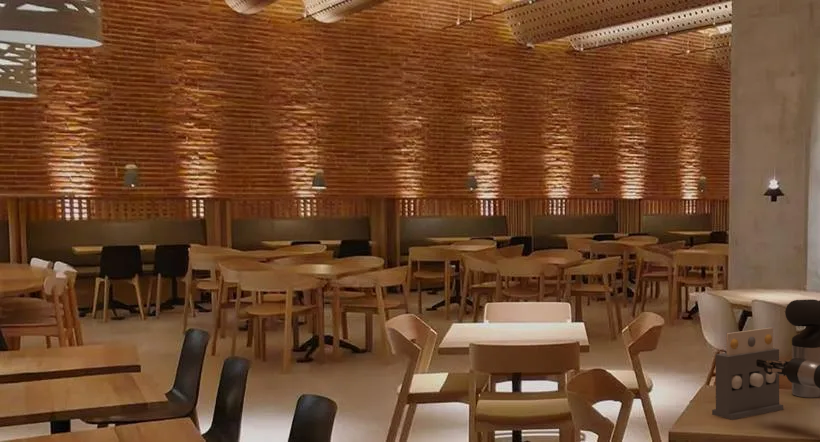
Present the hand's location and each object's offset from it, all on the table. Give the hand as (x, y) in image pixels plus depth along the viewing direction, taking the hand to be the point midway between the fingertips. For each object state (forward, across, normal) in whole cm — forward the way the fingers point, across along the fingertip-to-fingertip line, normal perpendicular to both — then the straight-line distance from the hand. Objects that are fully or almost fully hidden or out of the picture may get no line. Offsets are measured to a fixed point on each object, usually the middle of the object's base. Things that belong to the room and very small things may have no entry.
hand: (758, 362), depth 265 cm
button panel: (+8, -6, +18) cm, 21 cm away
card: (+8, -6, -1) cm, 10 cm away
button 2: (+8, -14, +10) cm, 19 cm away
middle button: (+6, -6, +9) cm, 13 cm away
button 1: (+8, +2, +9) cm, 12 cm away
